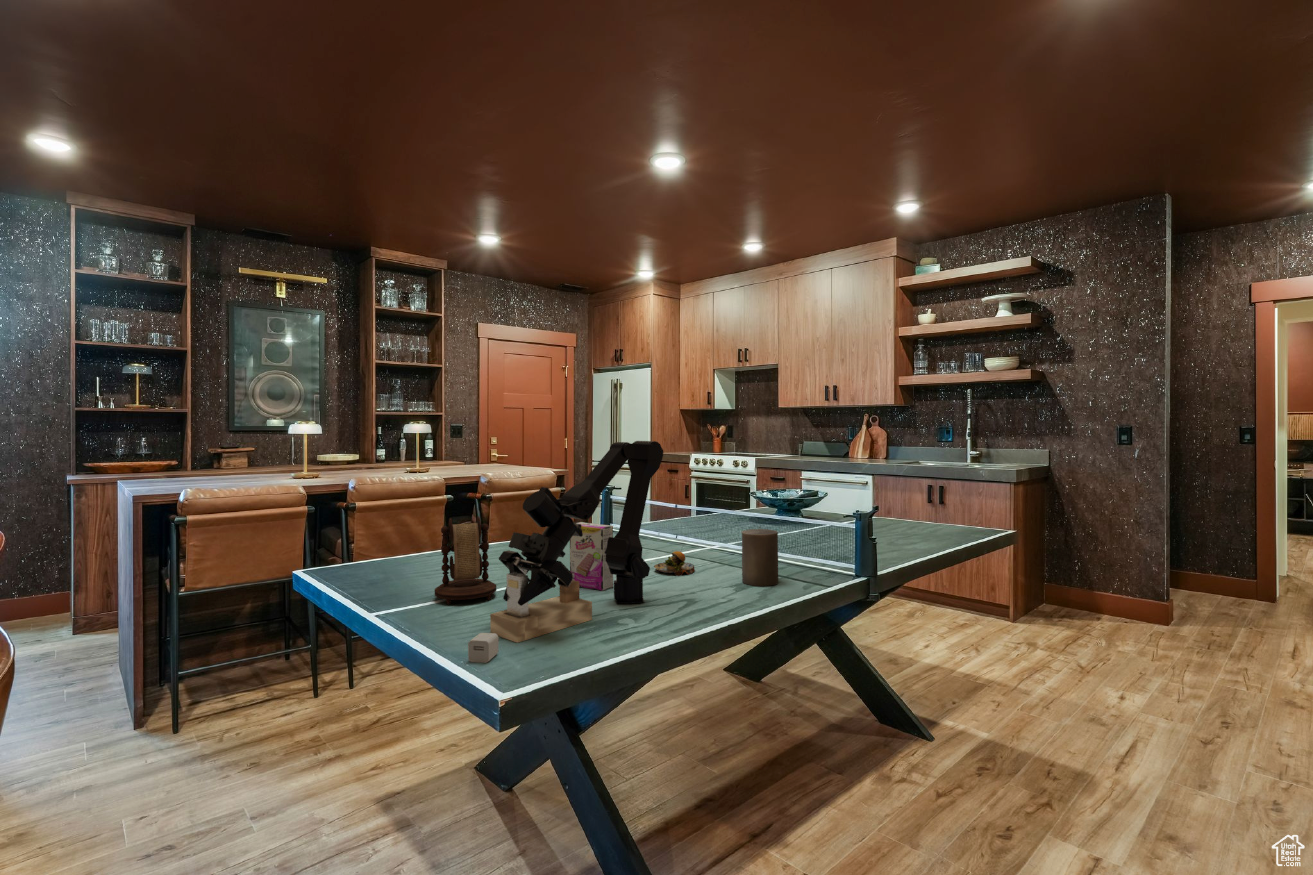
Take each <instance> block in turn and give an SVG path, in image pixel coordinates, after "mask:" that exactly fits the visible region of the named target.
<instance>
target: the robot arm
mask: <svg viewBox="0 0 1313 875" xmlns="http://www.w3.org/2000/svg"><path fill="white" fill-rule="evenodd" d="M663 457H664V448H662V445H661V443H659V442H658V441H656V440H655V441H654V440H636V441H634V442H632V443H630V442H628V441H627V442H626V441H615V442H613V443H612V444H610V447H609V450H608V451H607V452H606V453H605V454H604V456H603V457H602V458H601V459H600V460H599V462H598V463H597V464H596V465H595V467H593V469H591V472H590V473H588V475H587V476H586V477H585V478H584V479H583V480H582V481H581V482H580V483H578V484H575V485H573V486H572V487H571V488H569V489H568V490H567V491H566V492H564V493H563V495H561V497H560V498H556V497H555V495H554V494H553V493H552V490H550V489H549V488H548V487H543V486H541V487H540V488H539V490H537V491H535V492H533V493H531V494H530V495H529V496H527V497H526V498H525V499H524V501H523V502H522V509H523V512H525V513H526V514H527V515H528V516H529V517H530V519H532V521H534V523H536V525H537V526H538V527H539V528H544V530H543V532H542V533H538V532H532V534H531V535H529V534H525V533H520V532H515V531H513V533H512V535H511V538H510V541H509V544H508V548H510V549H516V550H518V551H521V552H520V553H519V552H518V551H513V550H504V551H502V553H501V554H500V555H499V557H498V560H499V561H500V562H501V563H502V564H503V565H504V566H505V567H506V568H507V569H508V572H509V573H513V572H516V573H520V574H524V575H528V573H529V572H530V578H529V577H528V584H527V586H526V588H525V589H524V591H523V593H522V594H521V596H520V598H519V600H518V604H519V605H520V606H522V605H524V604H525V603H527V602H528V603H529V602H530V601H531V600H533V599H535V598H537V597H538V596H539V595H541V594H543V593H545V592H547V591H549V590H550V589H552V588H553V589H554V588H556V587H557V585H556V582H557V584H558V586H559V587H560V586H564V587H569V585H570V583H571V582H572V580H573V574H572V573H571V572H570V569H569V568H567V566H566V565H565V564H564V562H562V561H560V560H558V558H564V557H565V555H566V552H565V551H564V550H565V548H566V547H567V545H568V543H570V539H571V537H572V536H573V535H574V536H580V537H582V536H583V533H582V529H581V524H576V523H577V522H575V521H574V520H573V519H576V520H589V519H590V518H591V517H593V515H594V514H595V512H596V510H597V508H598V506H599V505H600V503H601V502H600V501H601V500H600V498H601V495H602V493H603V491H605V490H606V487H607V486H608V485H609V484H610V483H611V481H612V480H613V479H614V478H615V476H616V475H617V474H618V472H619V471H620V470H621V469H622V468H623V466H624V465H625V464H626V462H627V466H628V468H629V469H628V470H629V471H630V477H629V482H628V485H627V486H628V487H627V492H626V496H625V500H624V507H623V510H622V515H621V520H620V524H619V527H618V528H619V529H618V531H617V533H616V534H615V536H613V537H609V538H608V541H607V548H606V551H605V552H604V554H606V558H605V559H606V562H607V564H608V567H609V570H610V574H613V575H615V579H613V599H614V600H615V601H616V604H617V605H625V604H627V605H628V604H630V605H631V604H632V605H633V604H644V602H645V599H644V583H643V582H644V579H645V578H647V577H648V576H649V575H650V570H651V566H649V564H648V563H647V562H646V561H645V560H644V559H643V557H642V556H643V545H642V542H641V539H640V531H641V528H642V523H643V517H644V512H645V507H646V503H647V498H648V492H649V488H650V484H651V479H652V478H653V477H654V475H655V474H656V473H657V471H658V470H660V467H661V464H662V461H663ZM502 598H503V600H504V601H505V602H507V586H506V588H505V590H504V594H503V596H502Z"/></svg>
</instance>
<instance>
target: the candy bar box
mask: <svg viewBox="0 0 1313 875" xmlns="http://www.w3.org/2000/svg"><path fill="white" fill-rule="evenodd" d="M575 523H576V524H581V529H582V533H583V536H582V537H580V536H574V535H573V536H572V537H571V539H570V540H569V571H570V572H571V573H572V574H573V580H575V581H579V588H585V589H590V590H596V591H602V592H603V591H607V590H609V589H611V588H614V574H610V570H609V567H608V564H607V562H606V559H605V558H606V554H604V552H605V551H606V548H607V541H608V538H609V537H613V538H614V526H613V525H608V524H602V523H601V524H599V523H591V522H584V521H581V522H575Z"/></svg>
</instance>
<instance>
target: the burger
mask: <svg viewBox="0 0 1313 875" xmlns="http://www.w3.org/2000/svg"><path fill="white" fill-rule="evenodd" d="M683 547H684V546H682V547H681V549H683ZM685 561H686V556H685V554H684V553H683V552H682V551H680V550H677V551H676V550H675V551H672V552H671V556H669V555H668V557H667V559H665V560H664V562H660V563H656V564H654V565H653V567H654V568H655V570H657V571H659V572H661V573H666V574H674V575H675V576H676V577H679V576H683V574H684V573H685V574H687V575H691V574H693V572H694V573H695V572H696V570H695V565H694V564H693V563H690V562H685Z"/></svg>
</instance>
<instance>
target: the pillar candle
mask: <svg viewBox="0 0 1313 875" xmlns="http://www.w3.org/2000/svg"><path fill="white" fill-rule="evenodd" d="M741 572H742V574H741V575H742V576H741V577H742V579H741V580H742V581H741V582H742V583H743V584H745V585H748V586H755V587H770V586H776V585H778V584H779V533H778V531H777V530H774V529H770V528H769V529H767V528H761V526H759V528H752V529H745V530H742V531H741Z"/></svg>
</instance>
